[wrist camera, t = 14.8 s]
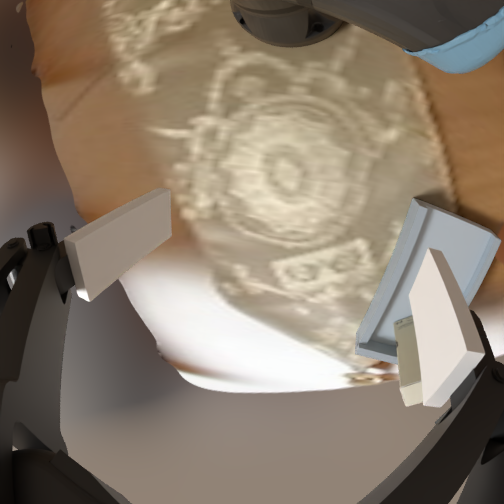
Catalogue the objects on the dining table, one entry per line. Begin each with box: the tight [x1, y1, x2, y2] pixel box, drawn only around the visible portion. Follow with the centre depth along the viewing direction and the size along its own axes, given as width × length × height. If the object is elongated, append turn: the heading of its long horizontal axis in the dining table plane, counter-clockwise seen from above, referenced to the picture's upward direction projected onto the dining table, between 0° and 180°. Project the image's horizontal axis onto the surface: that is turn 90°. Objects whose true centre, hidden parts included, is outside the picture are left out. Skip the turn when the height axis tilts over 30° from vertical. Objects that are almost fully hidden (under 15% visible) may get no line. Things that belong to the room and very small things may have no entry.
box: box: [393, 316, 423, 406], centre depth 33 cm, size 5×4×13 cm
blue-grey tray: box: [355, 198, 501, 365], centre depth 35 cm, size 24×14×5 cm, turn 171°
